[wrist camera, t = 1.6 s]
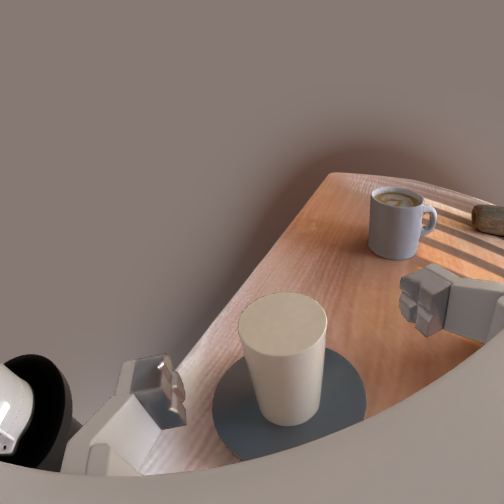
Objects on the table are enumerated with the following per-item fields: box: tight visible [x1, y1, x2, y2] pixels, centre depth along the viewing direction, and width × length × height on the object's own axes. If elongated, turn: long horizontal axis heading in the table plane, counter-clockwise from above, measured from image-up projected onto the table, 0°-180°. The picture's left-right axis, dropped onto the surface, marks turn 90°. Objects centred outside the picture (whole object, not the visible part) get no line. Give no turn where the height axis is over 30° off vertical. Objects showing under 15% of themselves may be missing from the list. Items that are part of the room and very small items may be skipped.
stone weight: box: [472, 205, 504, 236], centre depth 45 cm, size 15×7×7 cm, turn 68°
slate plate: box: [212, 347, 367, 461], centre depth 27 cm, size 16×16×2 cm
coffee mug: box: [368, 187, 437, 260], centre depth 47 cm, size 13×10×10 cm
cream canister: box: [238, 292, 327, 426], centre depth 23 cm, size 6×6×12 cm
